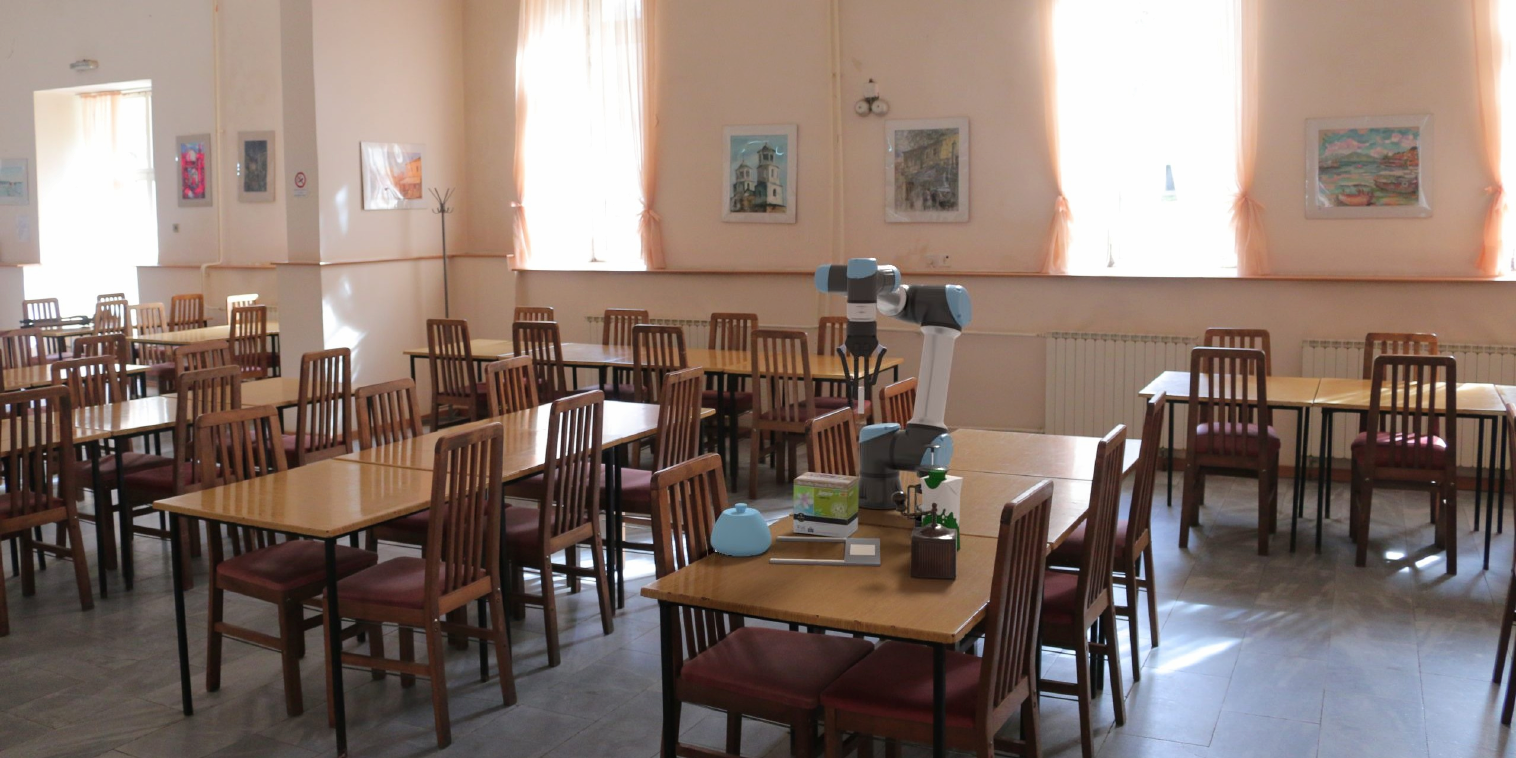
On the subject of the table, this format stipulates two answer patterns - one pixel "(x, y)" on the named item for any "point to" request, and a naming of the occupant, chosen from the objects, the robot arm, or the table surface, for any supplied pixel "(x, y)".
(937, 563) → the brown manual coffee grinder
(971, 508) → the table surface
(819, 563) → the label board
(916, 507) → the french press
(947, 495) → the milk carton
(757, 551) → the sugar bowl
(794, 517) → the tea box
